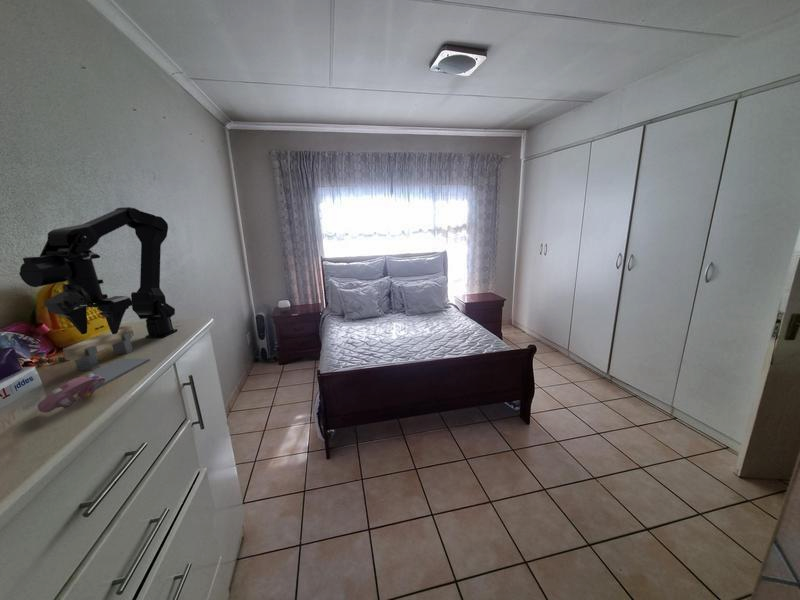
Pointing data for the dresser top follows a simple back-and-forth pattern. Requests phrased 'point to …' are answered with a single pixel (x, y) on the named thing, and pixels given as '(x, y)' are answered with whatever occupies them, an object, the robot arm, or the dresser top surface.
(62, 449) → the dresser top surface
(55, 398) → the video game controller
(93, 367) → the metal standards
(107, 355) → the dresser top surface
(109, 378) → the slate mat
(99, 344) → the birch rail
